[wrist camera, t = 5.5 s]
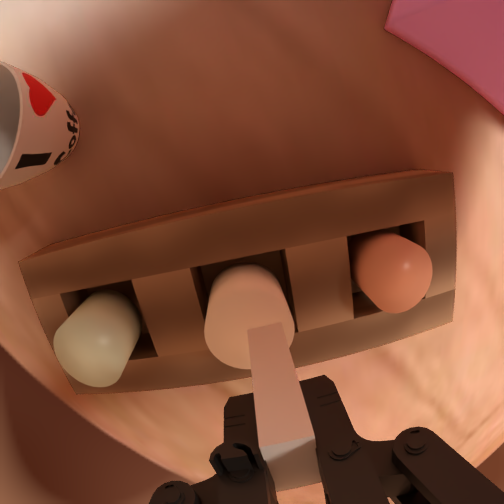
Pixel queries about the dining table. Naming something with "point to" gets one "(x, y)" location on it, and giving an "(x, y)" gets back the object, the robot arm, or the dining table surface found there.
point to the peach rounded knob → (243, 311)
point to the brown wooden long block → (261, 252)
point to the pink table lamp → (457, 39)
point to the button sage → (99, 338)
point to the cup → (32, 127)
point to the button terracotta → (389, 269)
